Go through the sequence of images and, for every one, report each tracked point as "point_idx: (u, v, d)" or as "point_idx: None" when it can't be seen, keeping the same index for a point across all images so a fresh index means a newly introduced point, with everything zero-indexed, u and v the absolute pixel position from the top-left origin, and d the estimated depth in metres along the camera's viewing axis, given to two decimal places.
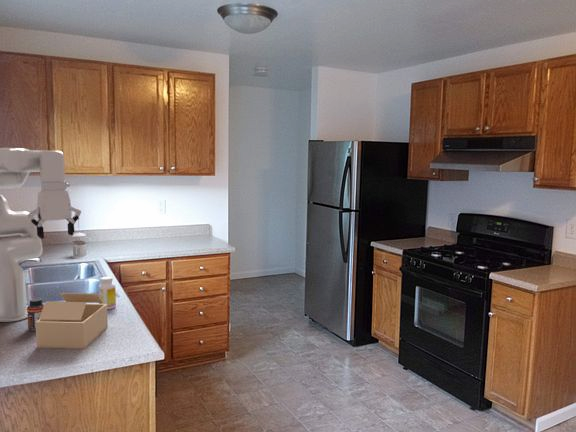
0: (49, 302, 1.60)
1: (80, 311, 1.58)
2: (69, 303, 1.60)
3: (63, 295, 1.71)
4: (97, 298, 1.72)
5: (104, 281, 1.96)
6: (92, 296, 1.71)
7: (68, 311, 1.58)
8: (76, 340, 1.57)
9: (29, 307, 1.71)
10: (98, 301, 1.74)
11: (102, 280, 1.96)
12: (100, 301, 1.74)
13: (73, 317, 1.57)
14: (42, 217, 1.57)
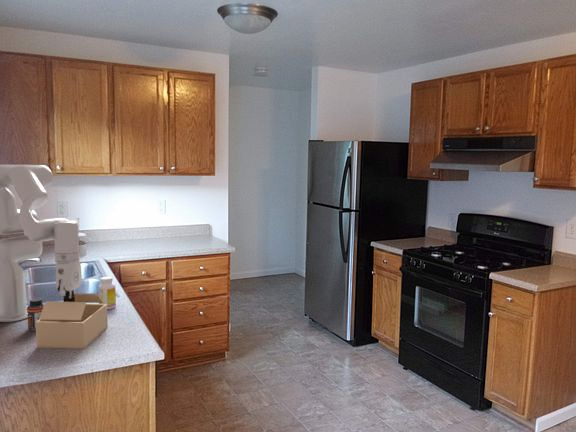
0: (49, 302, 1.60)
1: (80, 311, 1.58)
2: (69, 303, 1.60)
3: None
4: (97, 298, 1.72)
5: (104, 281, 1.96)
6: (92, 296, 1.71)
7: (68, 311, 1.58)
8: (76, 340, 1.57)
9: (29, 307, 1.71)
10: (98, 301, 1.74)
11: (102, 280, 1.96)
12: (100, 301, 1.74)
13: (73, 317, 1.57)
14: None
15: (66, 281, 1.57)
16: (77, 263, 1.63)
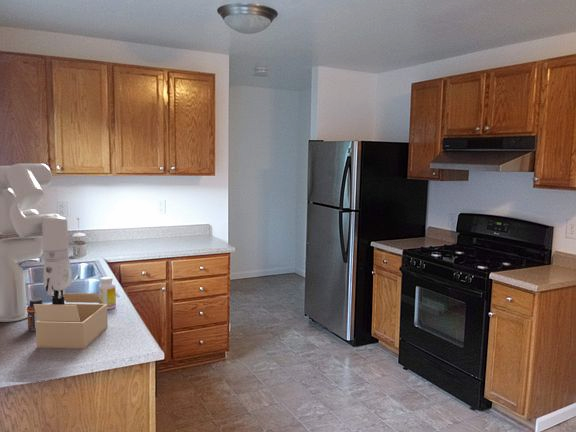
0: (38, 305, 1.53)
1: (75, 314, 1.54)
2: (59, 306, 1.53)
3: None
4: (97, 298, 1.72)
5: (104, 281, 1.96)
6: (92, 296, 1.71)
7: (63, 314, 1.54)
8: (76, 340, 1.57)
9: (29, 307, 1.71)
10: (98, 301, 1.74)
11: (102, 280, 1.96)
12: (100, 301, 1.74)
13: (71, 319, 1.55)
14: None
15: (54, 280, 1.49)
16: (66, 261, 1.55)
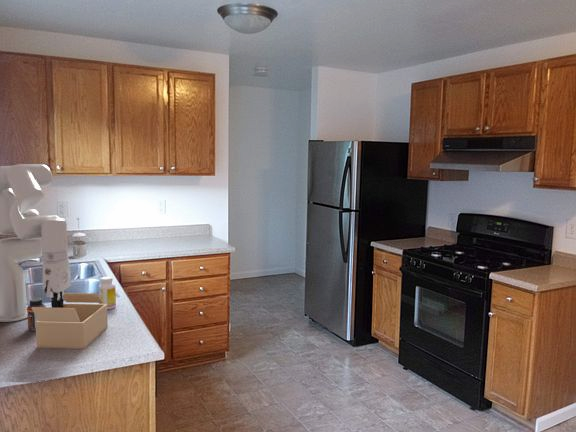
0: (36, 309, 1.52)
1: (74, 315, 1.54)
2: (57, 309, 1.52)
3: None
4: (97, 298, 1.72)
5: (104, 281, 1.96)
6: (92, 296, 1.71)
7: (62, 315, 1.54)
8: (76, 340, 1.57)
9: (29, 307, 1.71)
10: (98, 301, 1.74)
11: (102, 280, 1.96)
12: (100, 301, 1.74)
13: (71, 320, 1.55)
14: None
15: (53, 282, 1.48)
16: (66, 263, 1.54)
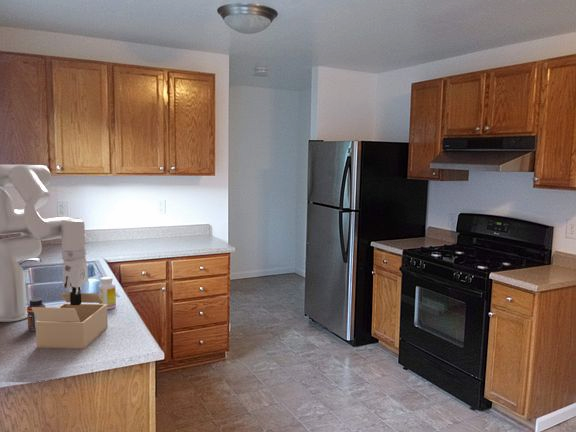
0: (36, 309, 1.52)
1: (74, 315, 1.54)
2: (57, 310, 1.52)
3: (63, 295, 1.71)
4: (97, 298, 1.72)
5: (104, 281, 1.96)
6: (92, 296, 1.71)
7: (62, 316, 1.54)
8: (76, 340, 1.57)
9: (29, 307, 1.71)
10: (98, 301, 1.74)
11: (102, 280, 1.96)
12: (100, 301, 1.74)
13: (71, 320, 1.55)
14: None
15: (73, 278, 1.62)
16: (83, 260, 1.68)
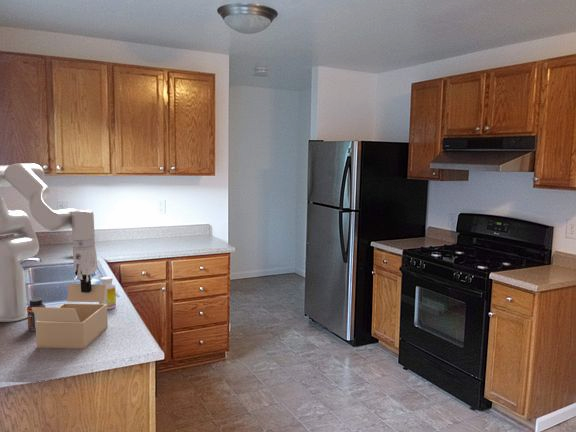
0: (36, 309, 1.52)
1: (74, 315, 1.54)
2: (57, 310, 1.52)
3: (71, 287, 1.77)
4: (101, 292, 1.76)
5: (104, 281, 1.96)
6: (99, 288, 1.77)
7: (62, 316, 1.54)
8: (76, 340, 1.57)
9: (29, 307, 1.71)
10: (100, 299, 1.76)
11: (102, 280, 1.96)
12: (102, 299, 1.76)
13: (71, 320, 1.55)
14: None
15: (83, 266, 1.69)
16: (93, 249, 1.75)
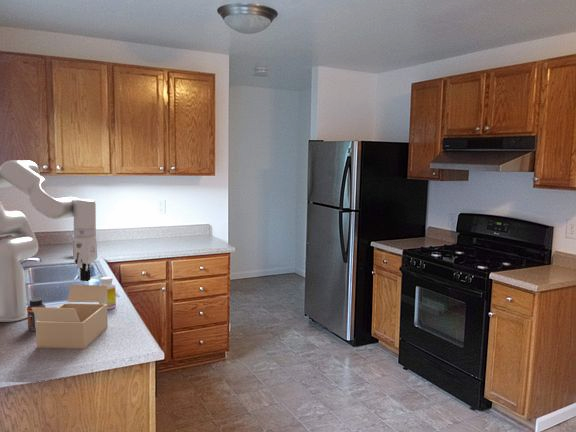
0: (36, 309, 1.52)
1: (74, 315, 1.54)
2: (57, 310, 1.52)
3: (72, 288, 1.78)
4: (102, 293, 1.77)
5: (104, 281, 1.96)
6: (100, 288, 1.78)
7: (62, 316, 1.54)
8: (76, 340, 1.57)
9: (29, 307, 1.71)
10: (100, 299, 1.76)
11: (102, 280, 1.96)
12: (102, 299, 1.76)
13: (71, 320, 1.55)
14: None
15: (83, 254, 1.70)
16: (93, 239, 1.76)
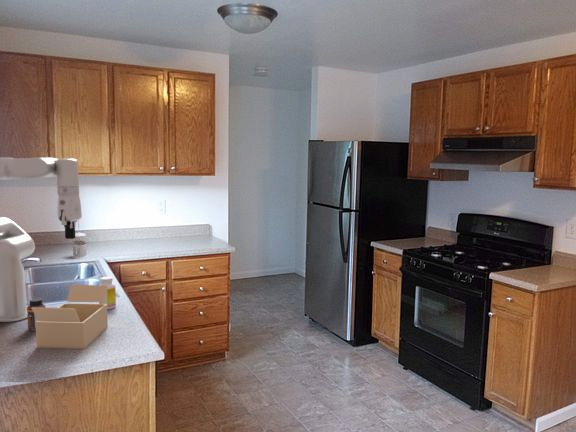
0: (36, 309, 1.52)
1: (74, 315, 1.54)
2: (57, 310, 1.52)
3: (72, 288, 1.78)
4: (102, 293, 1.77)
5: (104, 281, 1.96)
6: (100, 289, 1.78)
7: (62, 316, 1.54)
8: (76, 340, 1.57)
9: (29, 307, 1.71)
10: (100, 299, 1.76)
11: (102, 280, 1.96)
12: (102, 299, 1.76)
13: (71, 320, 1.55)
14: None
15: (67, 211, 1.76)
16: (77, 197, 1.81)
